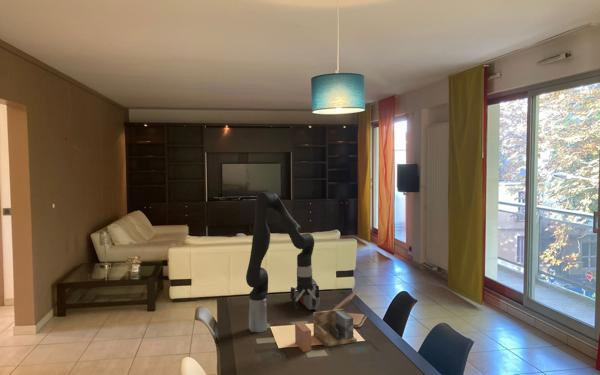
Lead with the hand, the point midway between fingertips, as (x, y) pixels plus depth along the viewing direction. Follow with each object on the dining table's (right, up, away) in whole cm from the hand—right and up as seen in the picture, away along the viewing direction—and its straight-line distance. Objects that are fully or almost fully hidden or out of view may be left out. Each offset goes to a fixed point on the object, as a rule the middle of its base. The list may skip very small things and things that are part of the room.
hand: (305, 307), depth 221 cm
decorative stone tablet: (+2, -16, +63) cm, 65 cm away
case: (+24, -17, +35) cm, 46 cm away
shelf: (+15, -18, +9) cm, 25 cm away
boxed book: (-1, -19, -1) cm, 19 cm away
